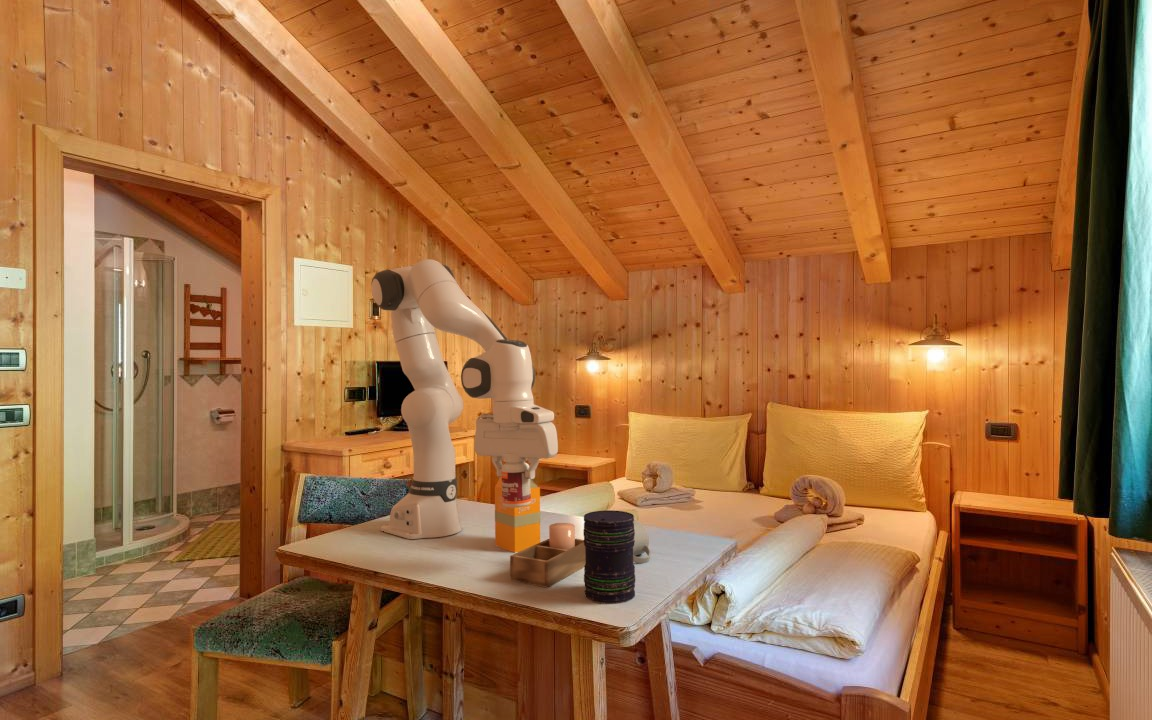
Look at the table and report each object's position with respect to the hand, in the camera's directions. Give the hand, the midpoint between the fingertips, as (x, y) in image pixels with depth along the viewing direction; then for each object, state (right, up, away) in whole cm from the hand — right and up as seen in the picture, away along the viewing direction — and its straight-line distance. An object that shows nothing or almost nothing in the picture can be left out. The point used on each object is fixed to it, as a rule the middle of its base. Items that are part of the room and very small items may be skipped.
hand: (515, 477), depth 134 cm
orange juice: (-1, -21, +18) cm, 28 cm away
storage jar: (+19, -20, -16) cm, 32 cm away
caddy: (+8, -20, -2) cm, 21 cm away
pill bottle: (0, -6, 0) cm, 6 cm away
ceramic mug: (+26, -20, +8) cm, 33 cm away
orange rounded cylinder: (+10, -19, +2) cm, 22 cm away
